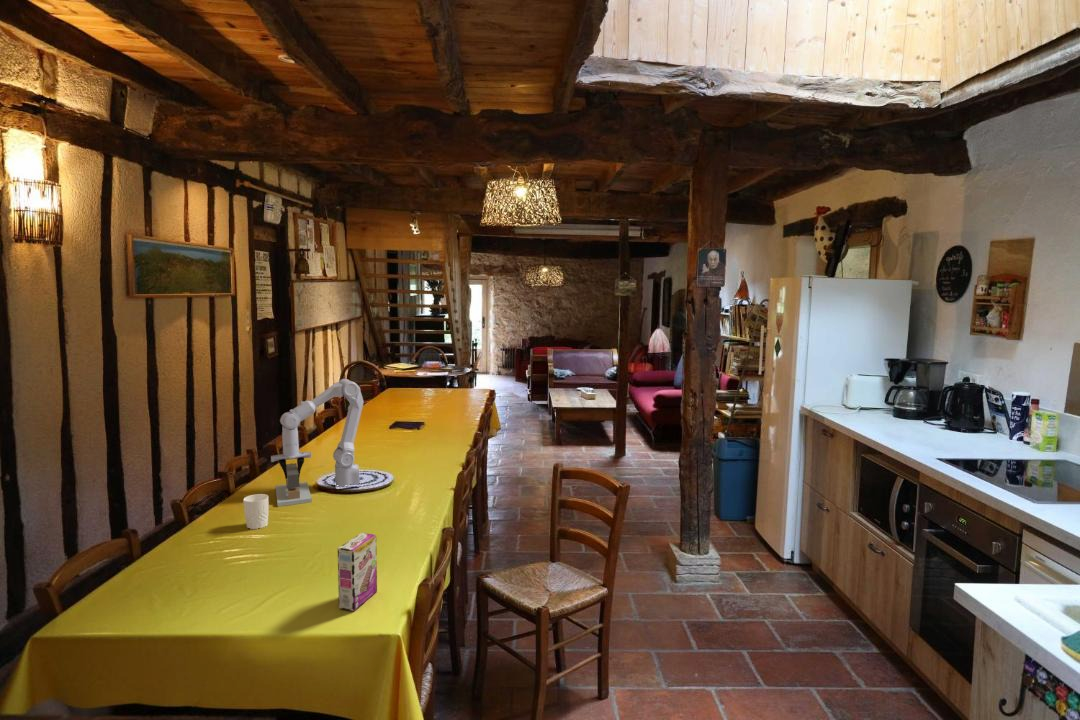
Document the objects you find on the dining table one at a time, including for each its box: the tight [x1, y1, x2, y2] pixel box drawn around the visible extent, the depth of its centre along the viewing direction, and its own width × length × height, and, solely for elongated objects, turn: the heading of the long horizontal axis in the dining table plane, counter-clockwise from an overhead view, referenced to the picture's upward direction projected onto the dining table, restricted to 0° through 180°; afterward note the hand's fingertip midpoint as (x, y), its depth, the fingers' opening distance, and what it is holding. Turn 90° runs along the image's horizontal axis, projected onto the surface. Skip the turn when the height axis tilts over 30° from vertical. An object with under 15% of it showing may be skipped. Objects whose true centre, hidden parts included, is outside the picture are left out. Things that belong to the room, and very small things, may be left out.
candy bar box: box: [337, 532, 378, 612], centre depth 164 cm, size 11×5×16 cm, turn 163°
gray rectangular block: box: [286, 462, 300, 488], centre depth 245 cm, size 4×16×5 cm, turn 25°
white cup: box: [242, 493, 270, 530], centre depth 215 cm, size 8×8×10 cm
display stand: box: [275, 479, 313, 507], centre depth 246 cm, size 12×22×4 cm, turn 25°
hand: (292, 477), depth 245 cm, fingers closed on gray rectangular block, 4 cm apart
